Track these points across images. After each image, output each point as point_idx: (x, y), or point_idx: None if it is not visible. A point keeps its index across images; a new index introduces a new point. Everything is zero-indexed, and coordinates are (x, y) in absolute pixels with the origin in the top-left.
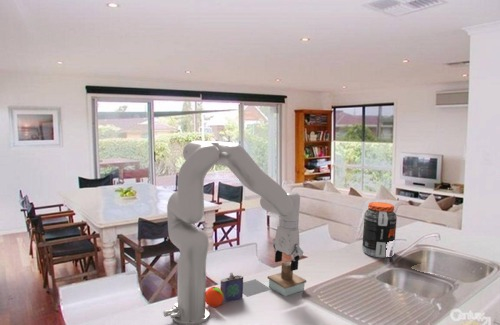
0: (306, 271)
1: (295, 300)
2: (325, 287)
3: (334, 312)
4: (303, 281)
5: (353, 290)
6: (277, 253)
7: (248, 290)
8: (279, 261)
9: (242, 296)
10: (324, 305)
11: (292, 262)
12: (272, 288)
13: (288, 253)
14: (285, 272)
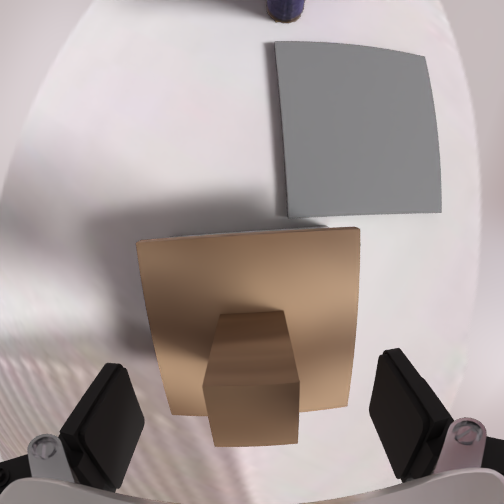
0: (354, 465)
1: (126, 272)
2: (192, 451)
3: (17, 338)
4: (167, 396)
5: (139, 483)
6: (418, 431)
7: (341, 85)
8: (373, 390)
9: (280, 16)
10: (58, 349)
11: (71, 422)
12: (293, 229)
13: (25, 491)
14: (228, 344)
